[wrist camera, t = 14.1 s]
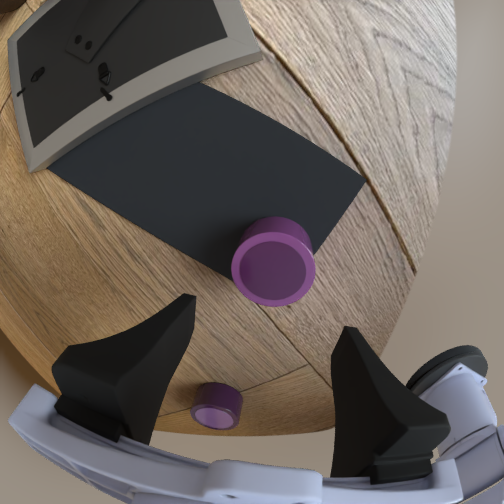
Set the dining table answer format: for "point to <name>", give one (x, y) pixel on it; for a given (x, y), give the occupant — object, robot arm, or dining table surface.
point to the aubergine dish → (217, 406)
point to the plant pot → (10, 5)
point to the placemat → (209, 174)
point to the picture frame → (114, 63)
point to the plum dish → (274, 262)
